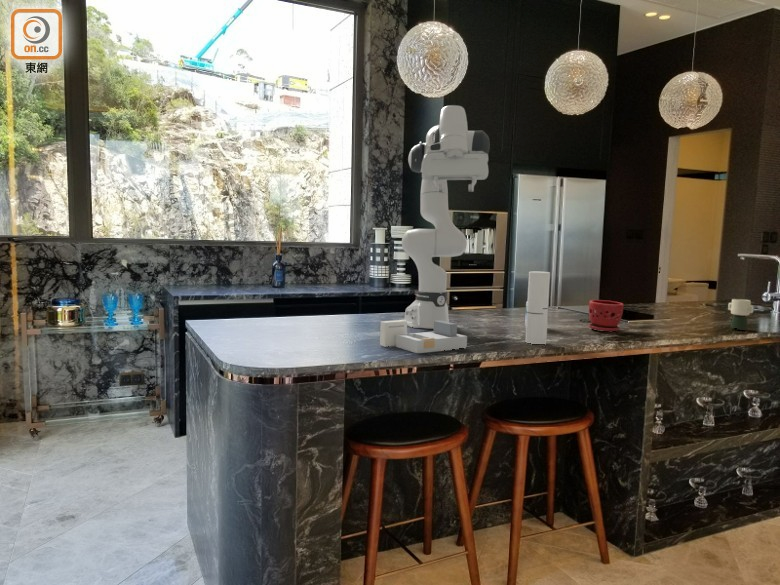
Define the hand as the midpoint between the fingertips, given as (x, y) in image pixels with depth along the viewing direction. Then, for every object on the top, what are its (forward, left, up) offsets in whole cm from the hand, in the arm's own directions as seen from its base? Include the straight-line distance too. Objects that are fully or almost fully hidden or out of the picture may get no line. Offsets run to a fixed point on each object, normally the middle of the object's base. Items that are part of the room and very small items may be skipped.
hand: (455, 190), depth 181 cm
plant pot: (-11, +89, -50) cm, 103 cm away
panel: (-21, -7, -50) cm, 55 cm away
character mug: (+12, +148, -50) cm, 157 cm away
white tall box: (-3, +41, -50) cm, 65 cm away
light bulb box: (-26, +65, -50) cm, 86 cm away
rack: (-12, +2, -50) cm, 52 cm away
